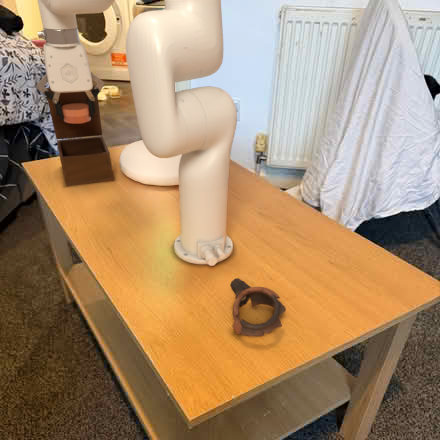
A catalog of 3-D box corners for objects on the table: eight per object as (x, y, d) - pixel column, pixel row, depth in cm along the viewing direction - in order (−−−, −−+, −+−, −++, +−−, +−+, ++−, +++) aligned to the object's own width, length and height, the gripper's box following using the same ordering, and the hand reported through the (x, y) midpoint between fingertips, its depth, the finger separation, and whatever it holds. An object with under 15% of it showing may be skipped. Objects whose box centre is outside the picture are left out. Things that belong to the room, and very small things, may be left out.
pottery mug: (296, 322, 72) (297, 306, 64) (257, 358, 70) (253, 346, 63) (250, 277, 76) (245, 257, 69) (212, 311, 75) (203, 294, 67)
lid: (96, 86, 106) (93, 75, 109) (45, 89, 102) (42, 78, 105) (102, 135, 118) (99, 124, 120) (56, 139, 114) (54, 128, 117)
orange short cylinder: (92, 122, 105) (90, 109, 103) (64, 124, 103) (62, 111, 101) (89, 114, 110) (87, 102, 108) (62, 116, 108) (60, 103, 106)
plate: (229, 165, 111) (133, 181, 103) (227, 186, 116) (135, 203, 107) (190, 124, 129) (106, 134, 120) (190, 144, 134) (109, 155, 125)
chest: (113, 180, 113) (109, 152, 108) (66, 186, 110) (59, 157, 105) (106, 162, 123) (102, 136, 118) (62, 167, 120) (56, 140, 115)
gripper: (22, 40, 90) (42, 124, 101) (102, 38, 95) (113, 119, 106) (22, 35, 95) (41, 115, 107) (98, 34, 100) (108, 110, 112)
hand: (76, 116), depth 106 cm, fingers closed on orange short cylinder, 6 cm apart
